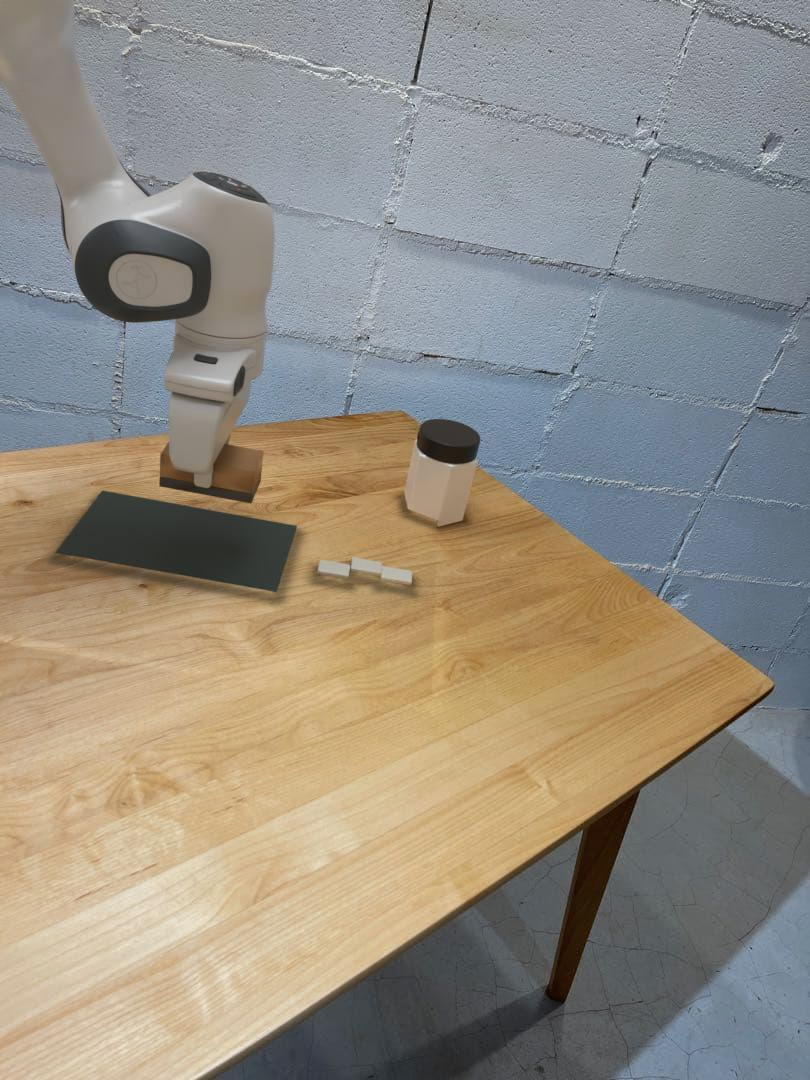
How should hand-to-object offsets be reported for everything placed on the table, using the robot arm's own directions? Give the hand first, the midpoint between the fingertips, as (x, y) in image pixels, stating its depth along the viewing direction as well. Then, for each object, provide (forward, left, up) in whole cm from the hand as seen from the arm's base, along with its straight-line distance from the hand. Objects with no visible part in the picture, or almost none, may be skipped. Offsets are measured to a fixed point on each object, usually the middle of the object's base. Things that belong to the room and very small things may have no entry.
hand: (211, 470), depth 89 cm
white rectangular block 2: (+19, +1, -11) cm, 22 cm away
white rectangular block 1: (+15, -1, -11) cm, 18 cm away
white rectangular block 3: (+22, 0, -9) cm, 24 cm away
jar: (+26, +19, -11) cm, 34 cm away
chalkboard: (-3, 0, -11) cm, 11 cm away
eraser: (0, 0, -2) cm, 2 cm away
